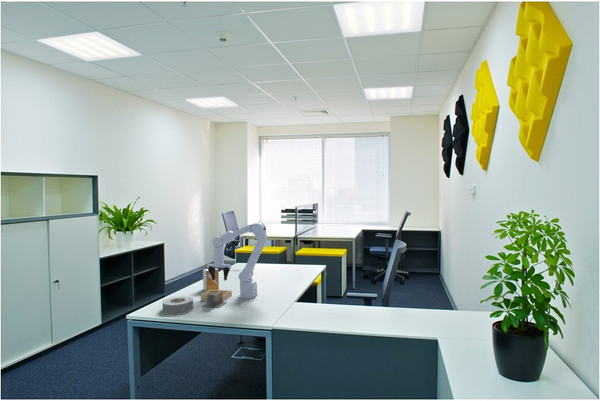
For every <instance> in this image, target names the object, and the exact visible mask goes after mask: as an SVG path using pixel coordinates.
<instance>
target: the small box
mask: <svg viewBox="0 0 600 401" xmlns="http://www.w3.org/2000/svg"><path fill="white" fill-rule="evenodd" d="M208 269H209V268H205V269H204V268H203V269H202V286H203V291H205V292H207V291H209V290H220V288H219V286H220V285H219V284H220V283H219V280H220V277H219V274H220V273H219V268H216V269H215V280H212V277H211V274H210V272H209V271H208Z"/></svg>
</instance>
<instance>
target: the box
mask: <svg viewBox="0 0 600 401" xmlns="http://www.w3.org/2000/svg"><path fill="white" fill-rule="evenodd" d="M222 302H224V301H223V295H222V291H213V292H211V293H210V294H208V295H207V301H206V304H207V306H213V307H216V306H218V305H219V304H221V303H222Z"/></svg>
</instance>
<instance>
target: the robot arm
mask: <svg viewBox="0 0 600 401" xmlns="http://www.w3.org/2000/svg"><path fill="white" fill-rule="evenodd" d="M246 233H251V234H253V235H254V236H255V239H256V240H257V241H256V243H255V246H254V247H253V249H252V251H251V254H250V256H249V257H248V260H247V262H246V264H245V266H244V268H243V269H242V271H240V273H239V274H238V279H239V295H238V296H237V298H240V299H241V298H243V299H244V298H246V299H254V298H256V297H257V296H258V284H257V281H254V280H253V278H252V277H253V275H254V270H255V267H256V264H257V262H258V260H259V257H260V256H261V254H262V252H263V250H264V247H265V245H266V243H267V240H268V238H267V237H268V236H267V227H266V225H265V223H263V222H261V221H258V222H256V223H252V224H251V223H250V224H247V225H245V226H243V227H241V228H239V229H237V230H234V231H233V230H227V231H226V232H224V233H222V234H219V236H216V237H214V238H213V239H212V240H211V243H212V246H213V263H207V264H206V267H207V268H206V269H208V271H209V272H210V274H211V277H212V280H215V269H216V268H217V269H222V272H223V281H224V282H225V281H227V280H228V276H229V273H230V271H231V269H232V264H228V263H225V250H224V249H225V248H224V245H226V244H228V243H230V242H233V241H235V240H236V237H238V236H241V235H243V234H246Z"/></svg>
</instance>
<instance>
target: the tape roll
mask: <svg viewBox="0 0 600 401" xmlns="http://www.w3.org/2000/svg"><path fill="white" fill-rule="evenodd" d="M193 309H194V298H192V296H187V295H185V296H184V295H183V296H182V295H181V296H173V297H169V298H166V299H164V300H163V301H162V313H163V312H164V314H166V313H168V314H167V315H179V314H178V313H180V314H184V313H188V312H190V311H192V310H193Z"/></svg>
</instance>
